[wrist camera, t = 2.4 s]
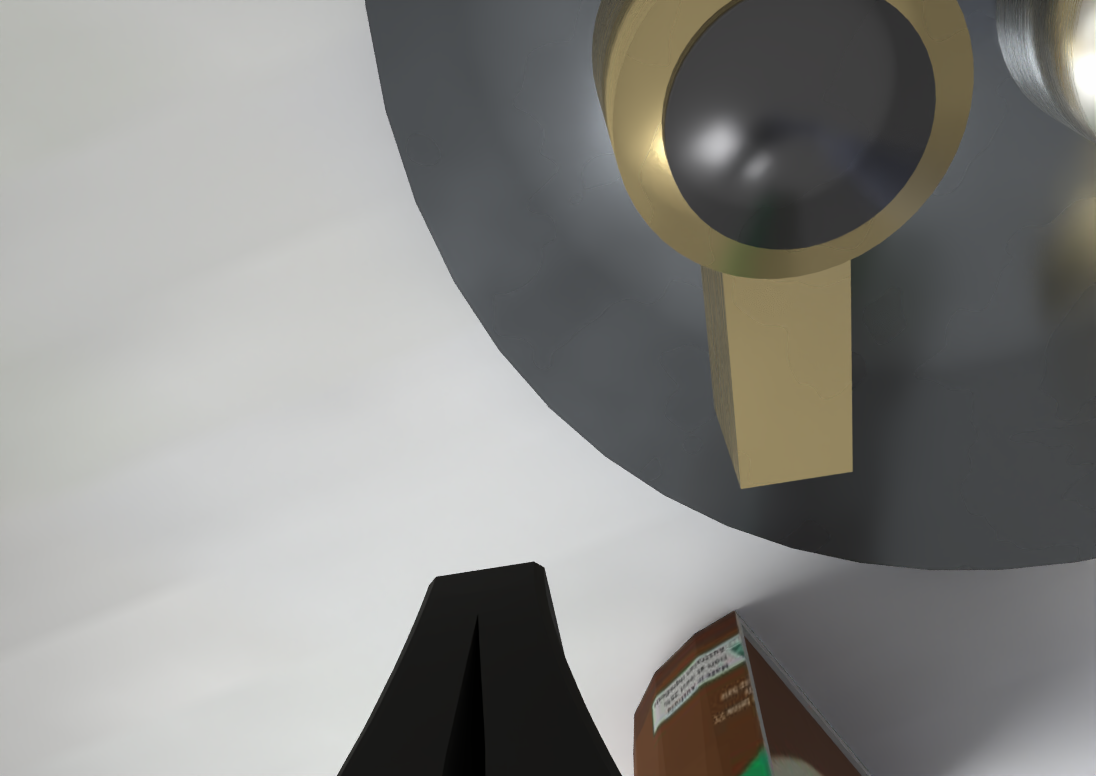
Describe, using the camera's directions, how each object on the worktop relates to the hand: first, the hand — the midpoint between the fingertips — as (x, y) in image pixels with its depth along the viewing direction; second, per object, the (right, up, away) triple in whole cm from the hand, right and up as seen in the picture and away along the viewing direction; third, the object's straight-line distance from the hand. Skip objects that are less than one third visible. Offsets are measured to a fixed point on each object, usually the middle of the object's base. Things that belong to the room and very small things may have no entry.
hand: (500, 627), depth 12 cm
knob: (+4, +6, +4) cm, 8 cm away
